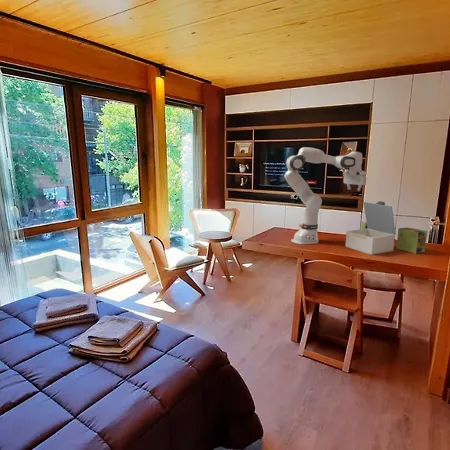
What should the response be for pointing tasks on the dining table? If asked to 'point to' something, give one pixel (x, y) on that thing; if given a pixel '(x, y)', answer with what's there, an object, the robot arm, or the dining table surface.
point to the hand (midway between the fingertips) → (353, 190)
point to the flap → (379, 217)
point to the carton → (370, 241)
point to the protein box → (411, 240)
